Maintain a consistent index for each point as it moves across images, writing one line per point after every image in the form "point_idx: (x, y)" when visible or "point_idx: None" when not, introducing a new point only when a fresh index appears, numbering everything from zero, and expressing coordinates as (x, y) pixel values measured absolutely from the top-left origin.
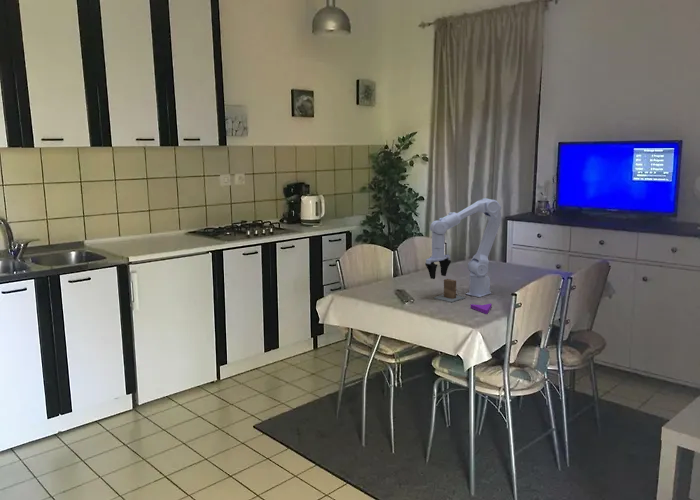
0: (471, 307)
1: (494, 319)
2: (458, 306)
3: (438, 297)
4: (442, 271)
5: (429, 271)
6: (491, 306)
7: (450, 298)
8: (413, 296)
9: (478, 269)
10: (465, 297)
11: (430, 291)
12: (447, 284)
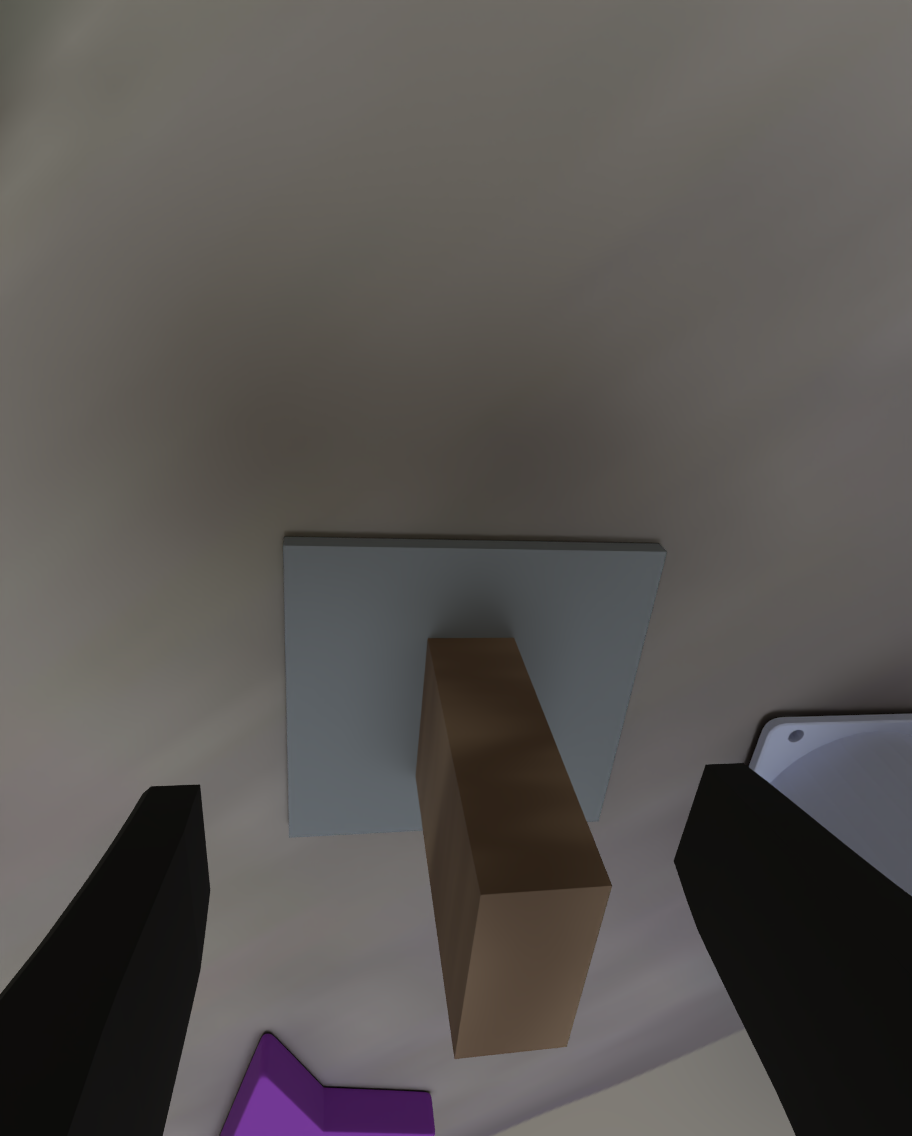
0: (257, 1055)
1: None
2: (216, 946)
3: (343, 597)
4: (766, 909)
5: (3, 1047)
6: (425, 1108)
7: (417, 745)
8: (89, 72)
9: None
10: (597, 816)
11: (703, 141)
12: (455, 881)
